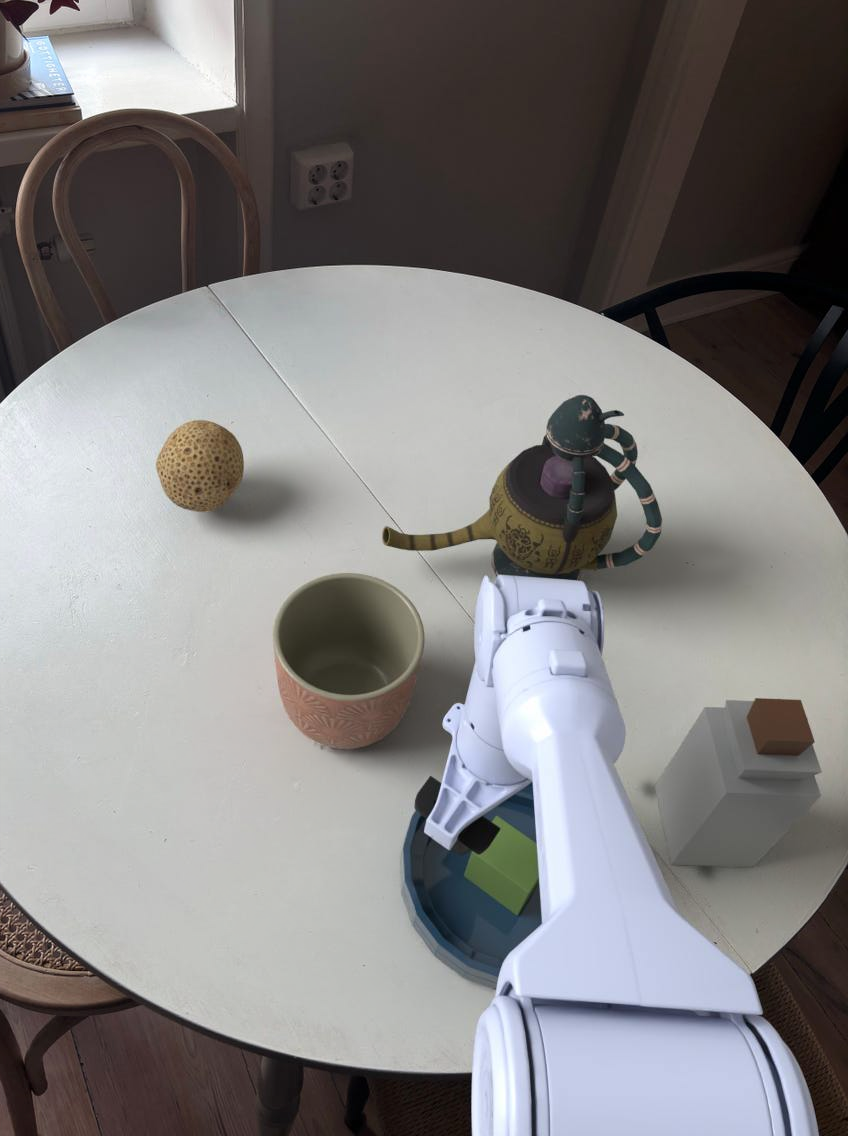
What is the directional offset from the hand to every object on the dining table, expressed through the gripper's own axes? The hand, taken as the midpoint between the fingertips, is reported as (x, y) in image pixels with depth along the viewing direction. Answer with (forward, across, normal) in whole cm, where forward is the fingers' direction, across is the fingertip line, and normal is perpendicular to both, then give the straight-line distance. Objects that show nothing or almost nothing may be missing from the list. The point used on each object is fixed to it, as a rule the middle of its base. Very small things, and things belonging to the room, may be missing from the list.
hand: (480, 803), depth 69 cm
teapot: (+10, -27, -13) cm, 32 cm away
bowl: (+9, 0, +4) cm, 10 cm away
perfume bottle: (+10, -14, +15) cm, 23 cm away
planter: (+10, -5, -16) cm, 19 cm away
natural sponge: (+10, -15, -42) cm, 46 cm away
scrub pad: (+9, 0, +4) cm, 9 cm away
